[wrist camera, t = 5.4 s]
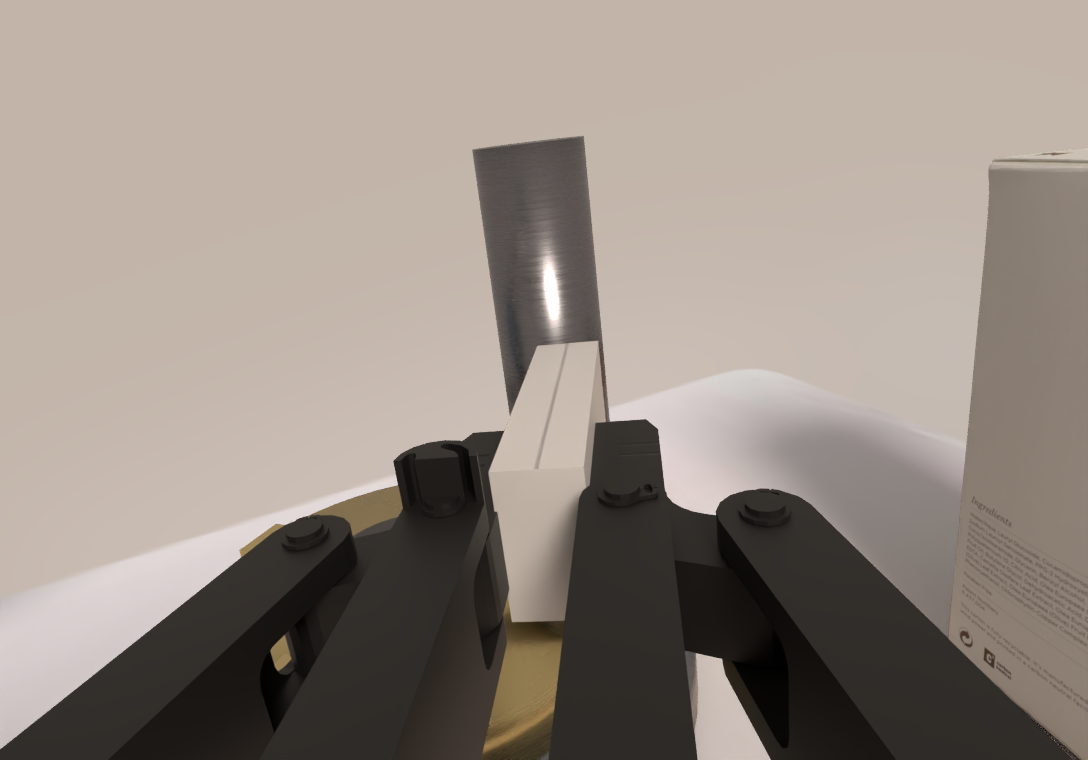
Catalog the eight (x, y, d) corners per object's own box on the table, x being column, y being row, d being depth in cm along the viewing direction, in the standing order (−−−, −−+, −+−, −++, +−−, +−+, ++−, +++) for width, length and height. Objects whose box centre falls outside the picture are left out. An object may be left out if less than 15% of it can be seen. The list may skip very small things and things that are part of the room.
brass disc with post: (91, 738, 21) (-124, 222, 16) (376, 503, 33) (302, 164, 28) (531, 901, 15) (404, 167, 10) (685, 543, 27) (660, 123, 22)
